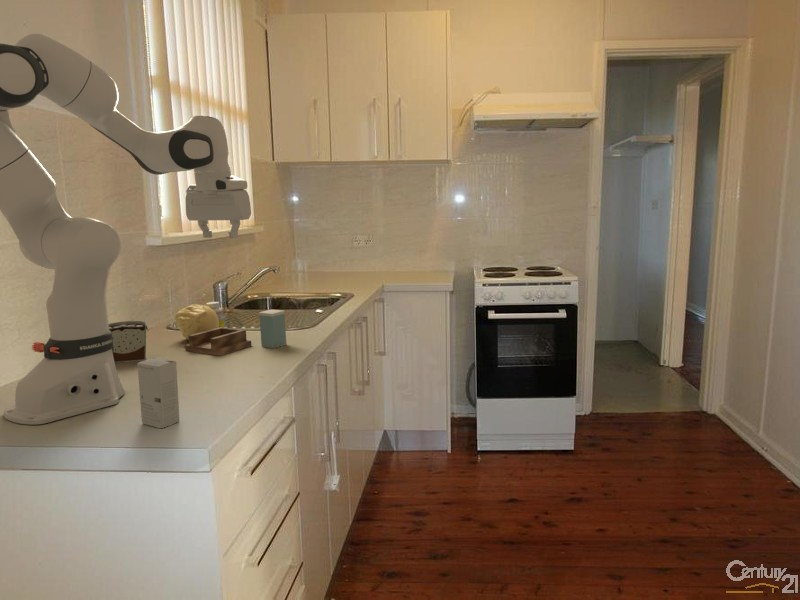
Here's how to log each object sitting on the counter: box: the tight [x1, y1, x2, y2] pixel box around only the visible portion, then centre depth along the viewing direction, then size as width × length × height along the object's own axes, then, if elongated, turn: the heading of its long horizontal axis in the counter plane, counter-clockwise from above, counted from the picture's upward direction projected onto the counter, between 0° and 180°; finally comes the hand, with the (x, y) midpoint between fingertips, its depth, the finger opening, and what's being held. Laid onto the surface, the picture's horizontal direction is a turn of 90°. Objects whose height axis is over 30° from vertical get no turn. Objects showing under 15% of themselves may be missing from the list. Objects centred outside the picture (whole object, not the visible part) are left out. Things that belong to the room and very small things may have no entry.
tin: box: [258, 309, 287, 349], centre depth 167 cm, size 5×5×10 cm
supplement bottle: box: [205, 301, 225, 328], centre depth 183 cm, size 6×6×10 cm
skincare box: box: [137, 357, 180, 429], centre depth 109 cm, size 6×4×12 cm
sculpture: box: [174, 303, 219, 340], centre depth 178 cm, size 12×12×11 cm
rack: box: [184, 326, 252, 356], centre depth 166 cm, size 12×14×4 cm
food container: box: [108, 320, 149, 363], centre depth 157 cm, size 12×6×10 cm, turn 104°
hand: (220, 237), depth 149 cm, fingers open, 8 cm apart
